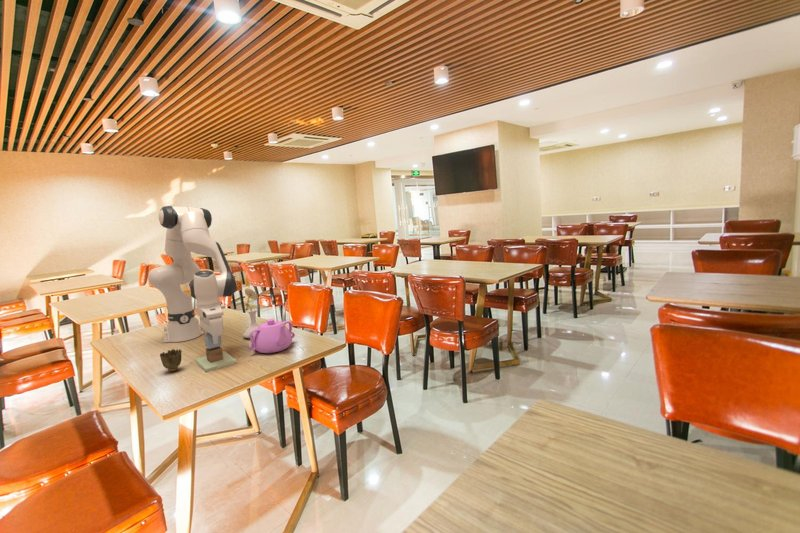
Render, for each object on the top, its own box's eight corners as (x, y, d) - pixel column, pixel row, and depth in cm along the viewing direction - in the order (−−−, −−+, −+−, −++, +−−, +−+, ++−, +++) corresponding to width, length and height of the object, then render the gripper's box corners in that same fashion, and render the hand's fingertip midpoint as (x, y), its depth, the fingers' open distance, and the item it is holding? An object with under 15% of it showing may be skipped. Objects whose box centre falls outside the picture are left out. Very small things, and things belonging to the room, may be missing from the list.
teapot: (264, 363, 154) (260, 331, 152) (241, 351, 169) (238, 322, 167) (309, 347, 169) (307, 318, 167) (285, 338, 184) (283, 311, 182)
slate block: (205, 346, 157) (204, 334, 156) (218, 342, 160) (216, 331, 159) (208, 348, 153) (207, 337, 152) (221, 345, 156) (220, 334, 156)
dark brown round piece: (168, 376, 146) (165, 356, 144) (158, 372, 149) (156, 353, 148) (187, 369, 152) (184, 350, 151) (177, 366, 156) (175, 347, 155)
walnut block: (207, 359, 158) (205, 348, 157) (219, 356, 161) (218, 345, 160) (210, 362, 154) (209, 351, 153) (223, 359, 157) (221, 348, 156)
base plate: (195, 361, 159) (194, 359, 159) (224, 353, 167) (224, 351, 167) (205, 372, 148) (205, 369, 147) (236, 362, 156) (236, 360, 155)
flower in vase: (270, 336, 189) (265, 288, 185) (247, 342, 182) (241, 292, 178) (261, 330, 199) (256, 285, 195) (239, 336, 192) (233, 288, 188)
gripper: (194, 307, 160) (198, 338, 162) (207, 315, 145) (212, 349, 147) (209, 304, 164) (213, 334, 166) (224, 312, 149) (228, 345, 151)
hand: (213, 341), depth 156 cm, fingers open, 5 cm apart
